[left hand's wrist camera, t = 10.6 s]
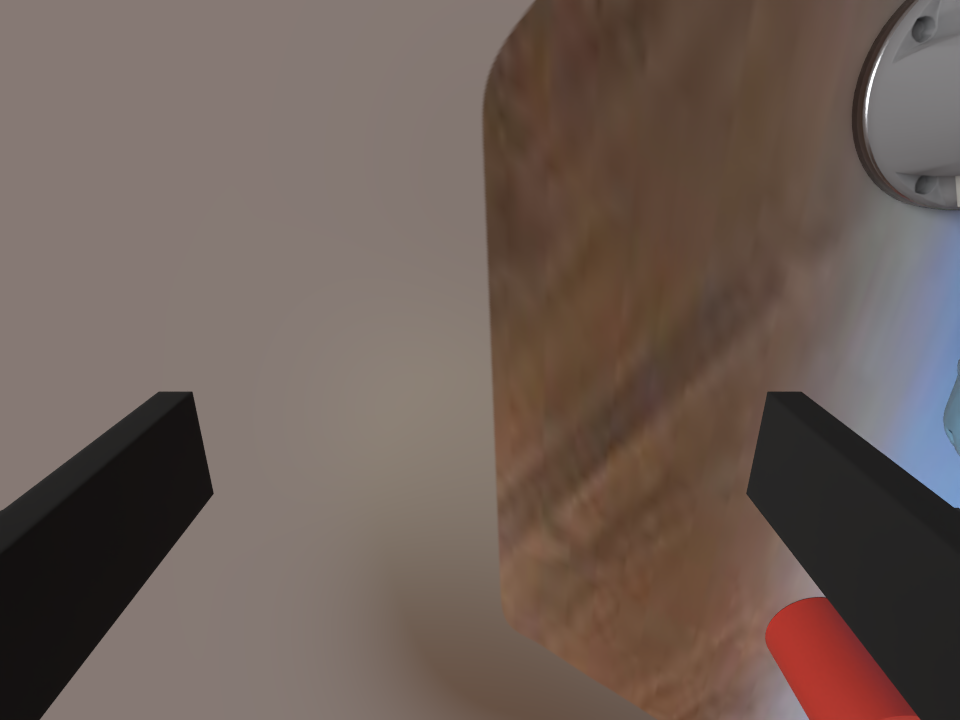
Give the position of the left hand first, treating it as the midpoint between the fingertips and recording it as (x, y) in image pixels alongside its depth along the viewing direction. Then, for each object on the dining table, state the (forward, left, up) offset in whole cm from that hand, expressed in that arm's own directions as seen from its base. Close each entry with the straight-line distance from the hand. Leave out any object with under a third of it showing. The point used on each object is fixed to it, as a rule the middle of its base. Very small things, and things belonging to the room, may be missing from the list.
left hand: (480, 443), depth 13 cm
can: (-20, +46, -29) cm, 58 cm away
